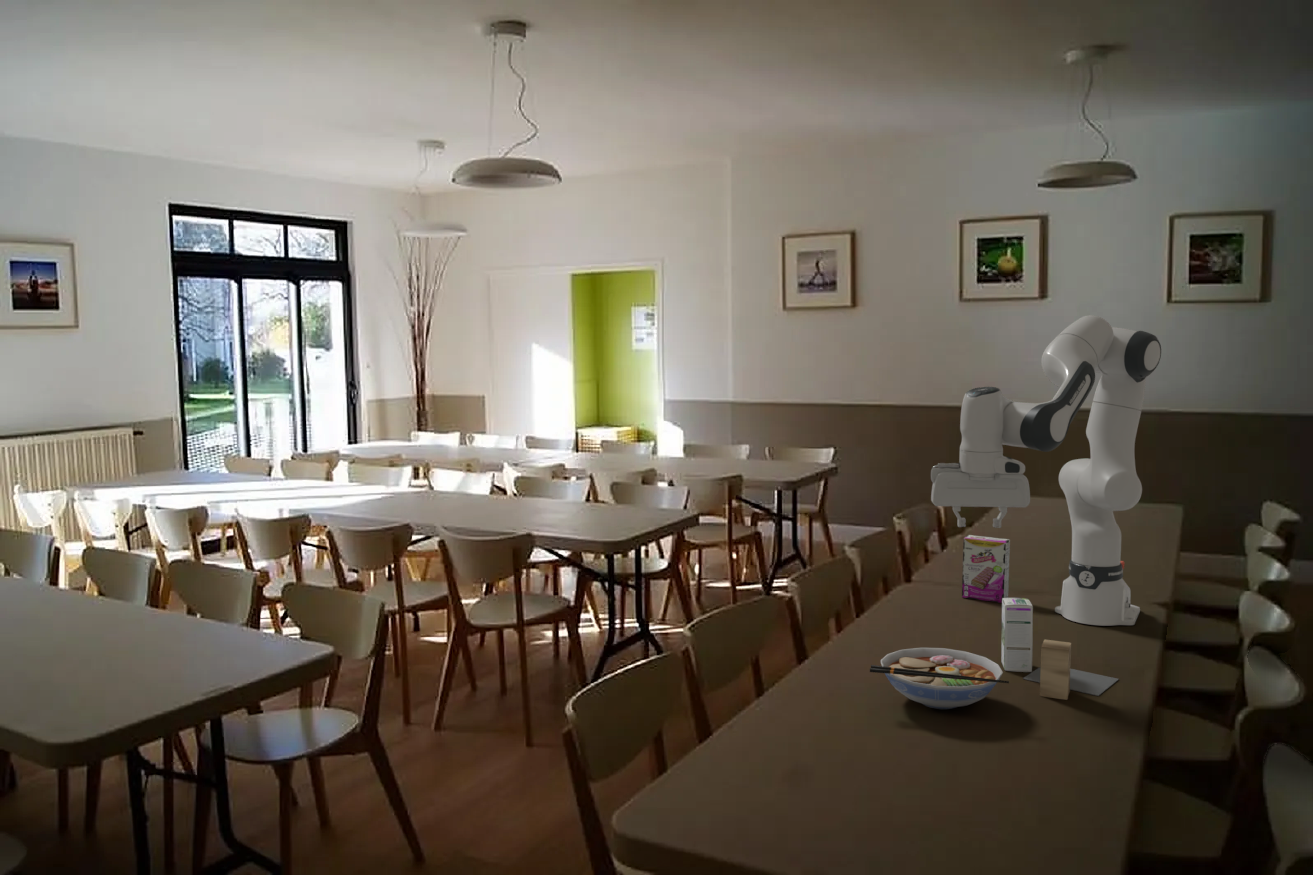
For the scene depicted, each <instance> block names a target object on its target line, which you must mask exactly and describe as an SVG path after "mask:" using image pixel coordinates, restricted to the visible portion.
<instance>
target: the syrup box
mask: <svg viewBox="0 0 1313 875" xmlns="http://www.w3.org/2000/svg"><path fill="white" fill-rule="evenodd" d="M1033 612H1034V606H1033V604H1032V602H1031V601H1030V599H1029V598H1027V597H1026V598H1025V597H1008V598H1002V603H1001V647H1000V648H1001V649H1000V650H1001V655H1000V656H1001V658H1000V659H1001V665H1002V667H1003V670H1004V671H1007V672H1018V673H1019V672H1020V673H1022V672H1023V673H1032V672H1033V643H1034V642H1033V633H1034V630H1033V629H1034V628H1033V626H1034V624H1033V622H1034V621H1033V618H1034V617H1033V615H1034V613H1033Z"/></svg>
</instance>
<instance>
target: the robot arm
mask: <svg viewBox="0 0 1313 875" xmlns="http://www.w3.org/2000/svg"><path fill="white" fill-rule="evenodd" d="M1161 357H1162V346H1161V343H1160V341H1159V339H1158V337H1157V336H1156V335H1155V334H1153V333H1151V332H1147V331H1145V330H1135V329H1131V328H1124V327H1116V326H1111V325H1110V323H1109V322H1108V320H1106V319H1105V318H1103V317H1101V316H1099V315H1094V314H1089V315H1083V316H1081V317H1080V318H1078V319H1075V321H1073V322H1072V323H1070V324H1068V326H1067V327H1065V328H1064V329H1063V330H1062V331H1061V332H1060V333H1059V334H1057V335H1056V336H1055V338H1054V339H1053V340H1051V341H1050V342H1049V344H1048V345H1047V346H1046V347H1045V348H1044V351H1043V353H1042V355H1041V362H1040V363H1041V368H1042V371H1043V374H1044V375H1045V377H1046V378H1047V379H1048V380H1049V381H1050V383H1052V384H1053V385H1055V386H1056V387H1058V388H1059V389H1058V390H1057V392H1056V393H1055V394H1054V396H1053V398H1052V399H1050V400H1049V401H1044V402H1038V403H1036V402H1022V401H1014V400H1013V399H1010V398H1008V397H1006V396H1005V395H1003V394H1002V390H1001V389H1000V388H999V387H995V386H983V387H982V386H980V387H979V386H978V387H975V388H971V389H969V390H968V391H966V392H965V394H964V395H963V399H962V403H961V408H960V409H961V410H960V421H959V423H960V424H959V431H960V433H961V442H960V445H959V457H958V458H959V459H958V460H959V461H958V462H951V463H950V462H949V463H945V462H940V463H939V462H938V463H937V464H936V465H934V466H932V467H931V470H930V480H931V482H932V486H931V493H930V494H931V495H930V501H931V503H932V504H933V505H934V506H935V507H952V511H953V513H954V515H955V516H956V518H957V522H956V523H957V527H958V528H966V526H967V524H966V521H967V520H966V517H961V515H960V513H959V512H961V507H965V508H967V507H971V508H973V507H974V508H981V507H982V508H984V507H985V508H998V511H1000V512H999V514H998V515H997V517H995V518H994V517H993V518H992V522H993V523H992V527H993V528H999V529H1001V528H1002V520H1003V519H1004V518H1005V516H1006V515H1007V513H1008V508H1027V507H1028V506H1029V505H1030V504H1031V491H1030V490H1031V489H1030V484H1029V483H1030V482H1029V479H1028V478H1027V476H1026V475H1024V473H1025V472H1026V465H1025V464H1024V463H1023V462H1022V461H1020V460H1017V459H1014V458H1011V457H1009V456H1004V455H1003V454H1004V448H1003V446H1005V445H1006V446H1010V447H1018V448H1024V449H1027V448H1028V449H1031V450H1035V451H1040V452H1044V453H1045V452H1052V451H1053V450H1056V448H1058V447H1059V446H1060V445H1061V444H1062V443H1063V442H1064V440H1065V438H1066V436H1067V434H1068V431H1069V428H1070V425H1071V423H1072V422H1073V421H1074V418H1075V417H1076V415H1077V413H1078V412H1079V411H1080V409H1081V407H1082V406H1083V404H1084V402H1085V401H1086V400H1087V398H1088V396H1089V395H1090V393H1091V390H1092V389H1093V386H1094V384H1095V381H1096V373H1097V374H1101V376H1100V377H1099V380H1098V383H1097V385H1096V389H1095V392H1094V395H1093V399H1092V404H1091V408H1090V411H1089V417H1088V420H1087V425H1086V428H1085V434H1086V435H1085V436H1086V438H1087V440H1088V442H1089V450H1090V453H1089V454H1090V458H1078V459H1077V458H1076V459H1072V460H1069V461H1068V462H1066V463H1064V464H1063V465H1062V467H1061V469H1060V471H1059V474H1058V484H1059V486H1060V489H1061V490H1062V492H1063V494H1064V496H1065V499H1066V504H1067V507H1068V509H1067V510H1068V513H1069V518H1070V524H1071V559H1069V564H1068V574H1069V576H1068V577H1067V578H1065V579H1063V581H1062V589H1061V598H1060V605H1058V606H1055V607H1054V612H1055V613H1057V614H1058V615H1059V614H1060V615H1062V617H1064V618H1065V619H1067V620H1069V621H1072V622H1074V623H1075V622H1076V623H1078V624H1084V625H1091V626H1103V627H1105V626H1134V625H1135V624H1136V622H1137V619H1138V617H1139V615H1140V612H1141V609H1140V608H1141V607H1140V606H1137V605H1134V604H1131V593H1132V592H1131V588H1130V587H1129V585H1128V584H1127V583H1126V581H1125V580H1124V579H1123V578H1124V569H1125V564H1126V563H1125V561H1124V560H1121V553H1122V531H1121V529H1120V527H1119V524H1118V523H1117V521H1116V518H1115V514H1114V512H1119V511H1120V512H1122V511H1128V510H1131V509H1132V508H1134V507H1135V506H1136V505H1137V504H1138V503H1139V501H1140V499H1141V497H1142V494H1143V486H1142V482H1141V480H1140V478H1139V476H1138V474H1137V470H1136V459H1135V446H1136V444H1135V443H1136V437H1137V433H1138V427H1139V423H1140V420H1141V419H1140V418H1141V414H1142V410H1143V405H1144V399H1145V392H1146V378H1147V377H1148V376H1151V374H1152V373H1153V372H1154V371H1155V370H1156V369H1157V368H1158V366H1159V363H1160V361H1161V359H1162V358H1161Z"/></svg>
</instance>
